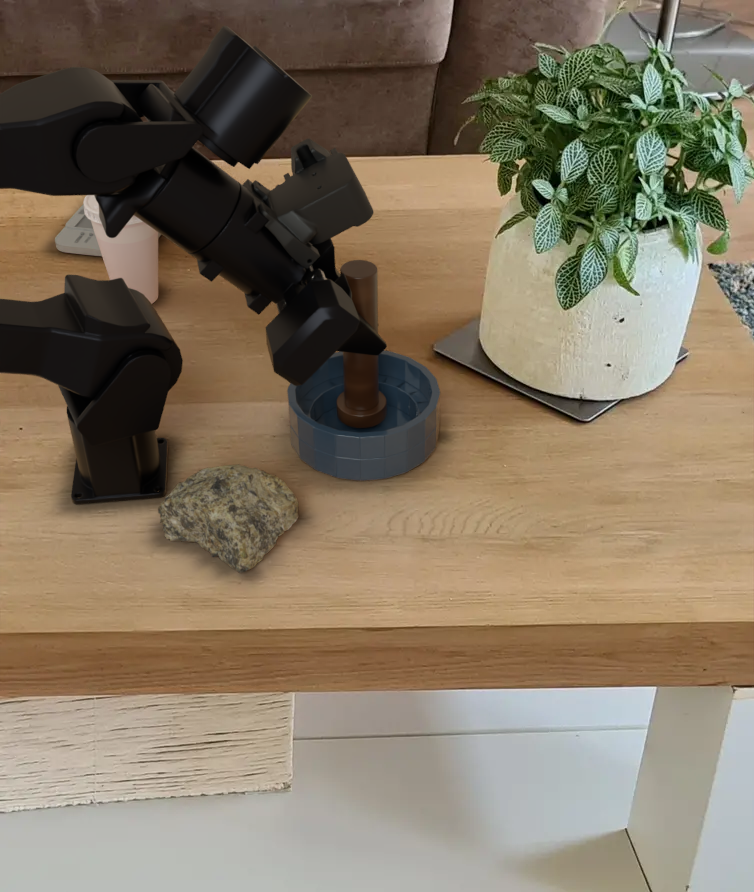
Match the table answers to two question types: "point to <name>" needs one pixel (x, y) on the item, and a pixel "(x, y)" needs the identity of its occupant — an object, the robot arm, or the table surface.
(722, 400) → the table surface
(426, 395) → the bowl
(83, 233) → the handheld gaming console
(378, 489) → the table surface
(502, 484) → the table surface
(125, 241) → the smoothie
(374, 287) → the brown wooden peg
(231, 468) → the rock
